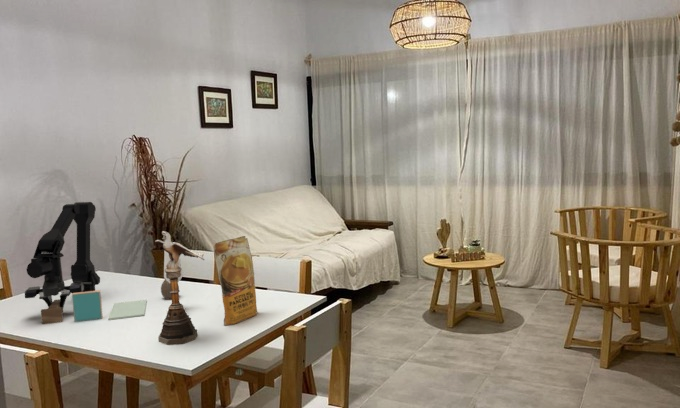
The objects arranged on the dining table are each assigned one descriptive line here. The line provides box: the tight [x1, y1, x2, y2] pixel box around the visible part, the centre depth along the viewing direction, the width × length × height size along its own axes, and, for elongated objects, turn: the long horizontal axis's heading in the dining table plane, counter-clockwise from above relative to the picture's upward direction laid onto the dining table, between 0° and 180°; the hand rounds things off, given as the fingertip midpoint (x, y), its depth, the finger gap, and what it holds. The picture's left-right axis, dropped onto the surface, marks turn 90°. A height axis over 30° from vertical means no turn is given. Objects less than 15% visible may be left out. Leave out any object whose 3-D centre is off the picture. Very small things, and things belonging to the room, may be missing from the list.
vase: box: [160, 278, 180, 300], centre depth 222 cm, size 7×7×9 cm
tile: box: [71, 289, 104, 323], centre depth 198 cm, size 2×9×10 cm, turn 107°
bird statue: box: [154, 230, 205, 346], centre depth 176 cm, size 17×13×35 cm
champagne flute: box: [163, 249, 186, 313], centre depth 205 cm, size 7×7×24 cm
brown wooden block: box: [40, 299, 64, 325], centre depth 202 cm, size 13×6×5 cm, turn 17°
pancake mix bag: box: [213, 235, 258, 326], centre depth 191 cm, size 7×19×28 cm, turn 146°
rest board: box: [108, 299, 148, 321], centre depth 208 cm, size 20×12×1 cm, turn 17°
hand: (57, 312), depth 205 cm, fingers closed on brown wooden block, 3 cm apart
